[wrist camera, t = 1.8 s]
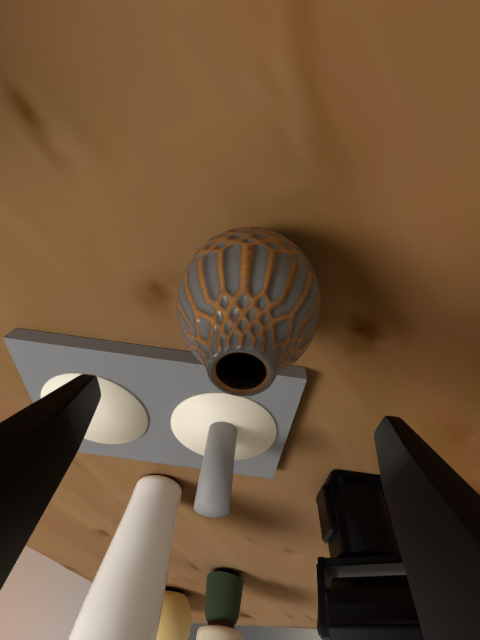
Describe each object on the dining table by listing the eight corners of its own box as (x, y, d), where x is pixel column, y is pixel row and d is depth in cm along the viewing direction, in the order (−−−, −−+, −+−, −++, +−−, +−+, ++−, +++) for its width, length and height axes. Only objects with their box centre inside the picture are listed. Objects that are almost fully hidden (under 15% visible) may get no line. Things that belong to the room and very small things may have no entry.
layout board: (305, 367, 21) (321, 464, 15) (272, 466, 28) (274, 557, 22) (15, 328, 21) (-91, 407, 15) (61, 437, 29) (5, 520, 22)
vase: (202, 319, 19) (164, 431, 12) (187, 215, 15) (116, 285, 8) (304, 319, 18) (330, 438, 11) (314, 210, 15) (362, 282, 7)
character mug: (209, 581, 51) (194, 700, 40) (188, 567, 48) (165, 693, 37) (263, 577, 48) (262, 706, 37) (244, 562, 44) (237, 699, 34)
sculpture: (127, 582, 56) (101, 667, 47) (178, 581, 53) (161, 672, 44) (156, 599, 62) (137, 678, 53) (204, 599, 59) (193, 682, 50)
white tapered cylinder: (122, 469, 31) (26, 691, 19) (179, 468, 30) (117, 702, 18) (144, 498, 35) (76, 701, 22) (195, 498, 34) (154, 711, 21)
